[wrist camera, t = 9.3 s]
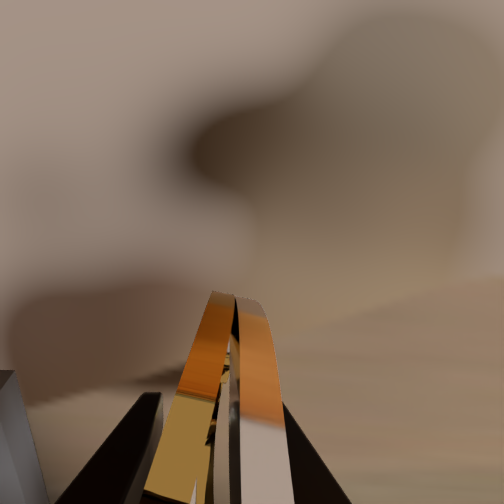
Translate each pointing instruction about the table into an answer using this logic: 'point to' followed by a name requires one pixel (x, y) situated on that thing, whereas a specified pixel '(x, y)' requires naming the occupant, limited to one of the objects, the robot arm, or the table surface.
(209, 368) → the ring
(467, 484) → the table surface
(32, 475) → the block
